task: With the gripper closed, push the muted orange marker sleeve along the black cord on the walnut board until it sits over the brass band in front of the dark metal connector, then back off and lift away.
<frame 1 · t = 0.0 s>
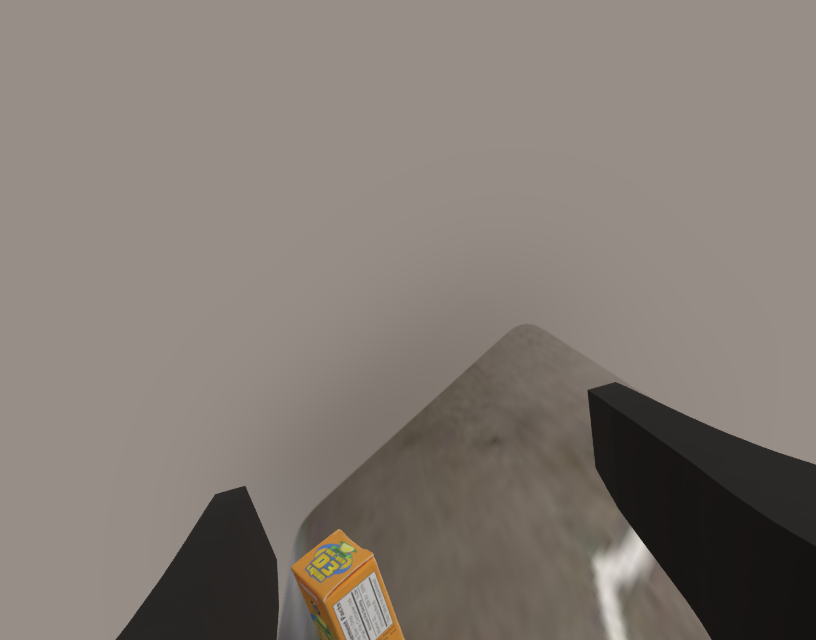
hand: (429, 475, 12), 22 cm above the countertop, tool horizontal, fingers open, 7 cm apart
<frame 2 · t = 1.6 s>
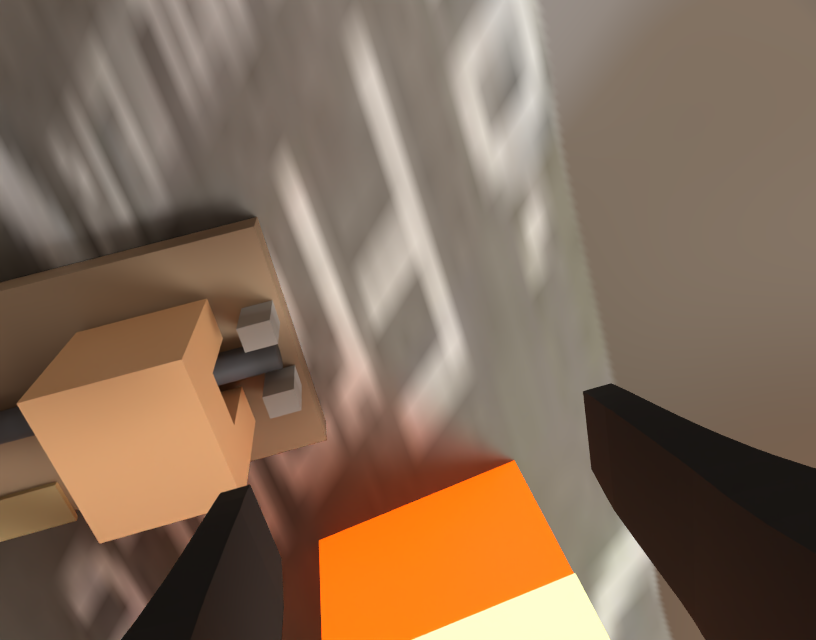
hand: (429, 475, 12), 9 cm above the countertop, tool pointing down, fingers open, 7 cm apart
marker sleeve: (156, 413, 17), point 4 cm above the countertop, slide at 0.0 cm
cord board: (48, 393, 20), on the countertop
orange juice: (444, 557, 26), on the countertop
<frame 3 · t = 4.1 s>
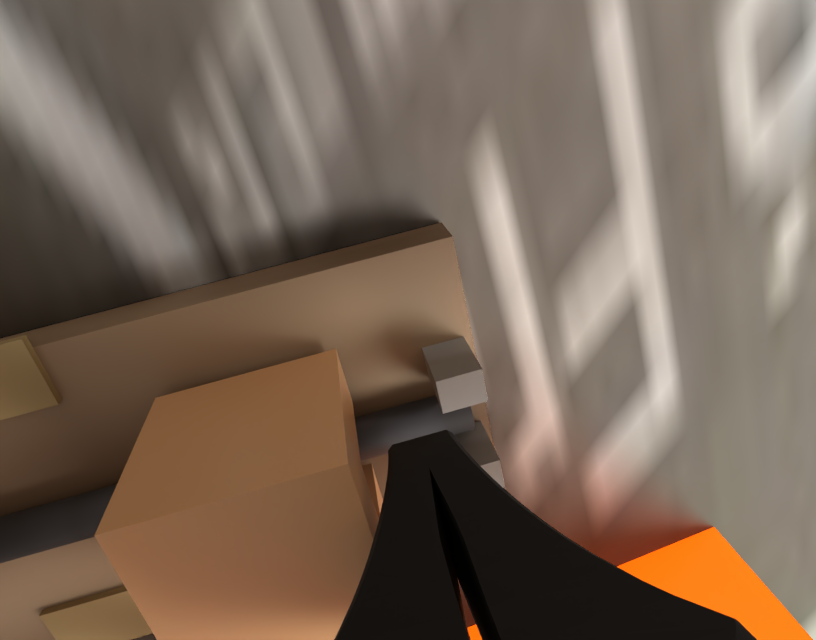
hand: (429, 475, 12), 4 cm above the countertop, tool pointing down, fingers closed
marker sleeve: (275, 517, 12), point 4 cm above the countertop, slide at 1.1 cm, touching gripper
cord board: (148, 457, 15), on the countertop
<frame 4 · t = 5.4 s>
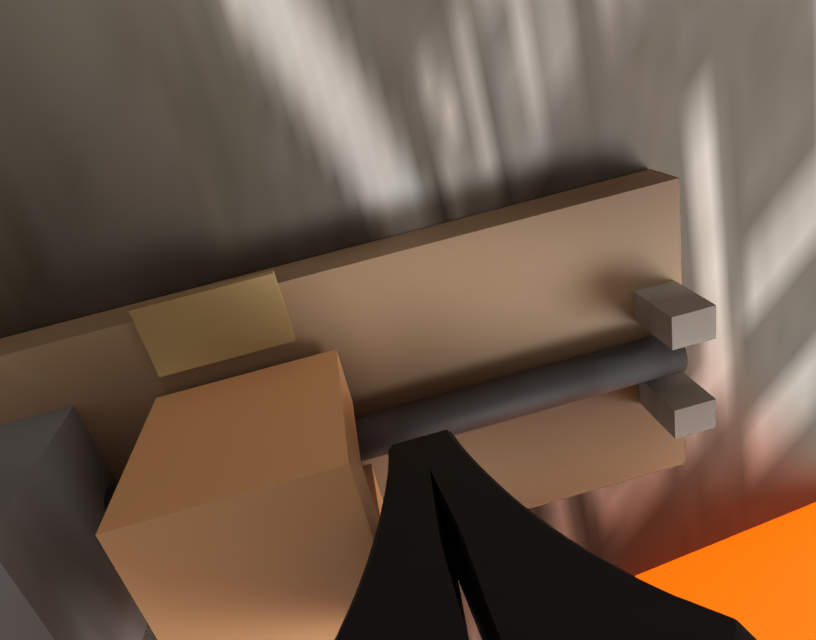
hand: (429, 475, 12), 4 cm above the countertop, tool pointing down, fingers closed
marker sleeve: (275, 517, 12), point 4 cm above the countertop, slide at 6.2 cm, touching gripper
cord board: (346, 403, 15), on the countertop
orange juice: (745, 600, 21), on the countertop
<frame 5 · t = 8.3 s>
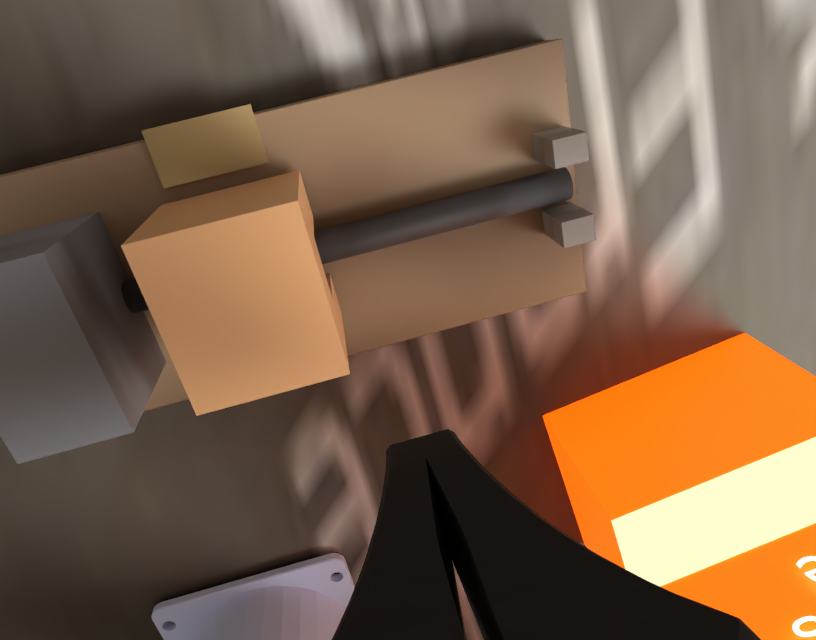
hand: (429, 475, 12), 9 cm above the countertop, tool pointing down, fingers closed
marker sleeve: (251, 285, 16), point 4 cm above the countertop, slide at 6.2 cm
cord board: (311, 234, 19), on the countertop
orange juice: (656, 441, 25), on the countertop
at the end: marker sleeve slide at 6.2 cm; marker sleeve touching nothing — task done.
